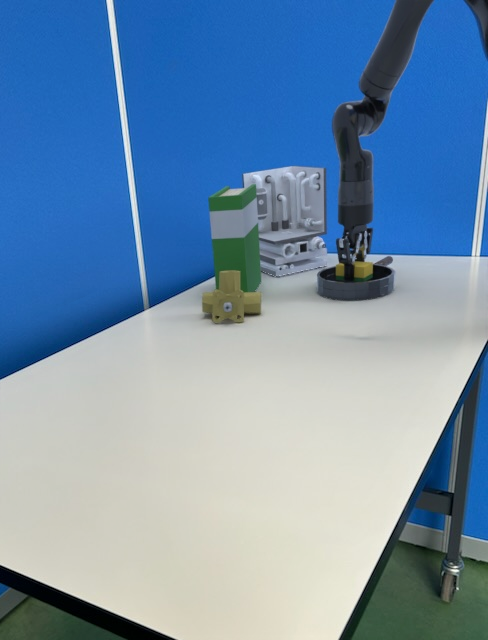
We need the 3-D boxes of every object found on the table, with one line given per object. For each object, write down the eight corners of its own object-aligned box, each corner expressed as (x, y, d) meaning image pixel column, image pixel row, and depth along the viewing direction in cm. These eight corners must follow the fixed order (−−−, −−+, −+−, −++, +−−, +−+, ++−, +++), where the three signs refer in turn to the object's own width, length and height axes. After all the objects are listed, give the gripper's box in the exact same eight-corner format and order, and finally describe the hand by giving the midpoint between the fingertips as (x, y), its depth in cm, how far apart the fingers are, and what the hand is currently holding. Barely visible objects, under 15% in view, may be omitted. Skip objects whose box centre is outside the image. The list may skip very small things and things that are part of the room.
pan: (406, 283, 145) (406, 266, 144) (373, 304, 134) (374, 285, 132) (339, 277, 156) (339, 261, 154) (303, 296, 144) (303, 279, 143)
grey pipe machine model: (296, 257, 180) (293, 165, 170) (334, 268, 164) (334, 168, 153) (248, 267, 175) (242, 173, 165) (282, 280, 159) (278, 177, 149)
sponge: (372, 277, 143) (373, 262, 142) (363, 282, 140) (364, 267, 139) (344, 274, 147) (344, 260, 146) (335, 279, 144) (335, 264, 143)
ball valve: (204, 316, 141) (199, 324, 131) (204, 270, 138) (198, 275, 128) (261, 316, 139) (259, 325, 130) (261, 269, 136) (260, 275, 126)
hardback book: (233, 282, 162) (226, 186, 151) (261, 282, 159) (256, 184, 149) (217, 303, 146) (208, 197, 136) (248, 302, 144) (241, 195, 134)
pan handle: (394, 263, 156) (394, 255, 156) (374, 274, 149) (374, 266, 148) (386, 262, 158) (386, 255, 157) (366, 273, 150) (367, 265, 149)
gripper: (356, 207, 129) (355, 287, 137) (385, 195, 139) (383, 271, 146) (324, 206, 134) (324, 284, 141) (354, 195, 143) (353, 268, 151)
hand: (354, 277), depth 144 cm, fingers closed on sponge, 4 cm apart
